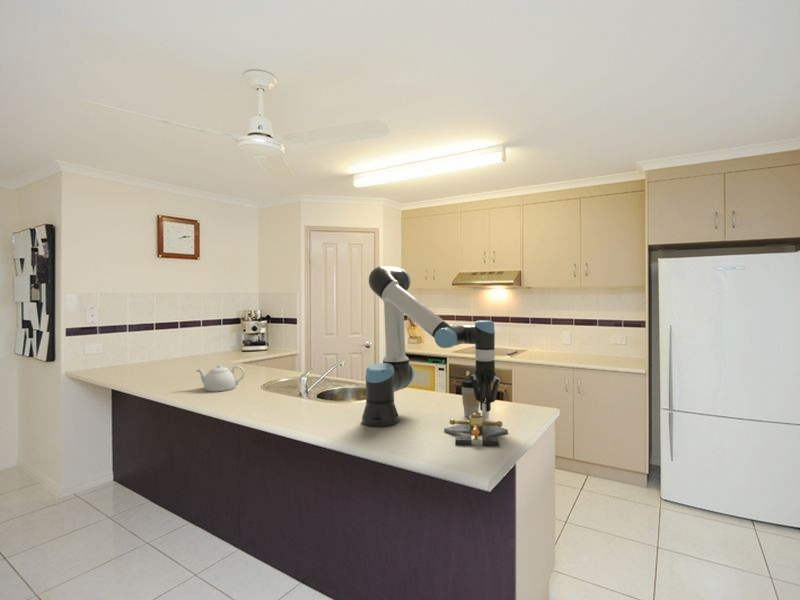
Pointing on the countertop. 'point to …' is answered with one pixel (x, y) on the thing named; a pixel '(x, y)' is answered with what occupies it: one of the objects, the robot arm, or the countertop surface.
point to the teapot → (220, 379)
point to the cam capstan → (476, 423)
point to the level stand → (483, 439)
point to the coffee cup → (469, 397)
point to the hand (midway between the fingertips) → (485, 418)
